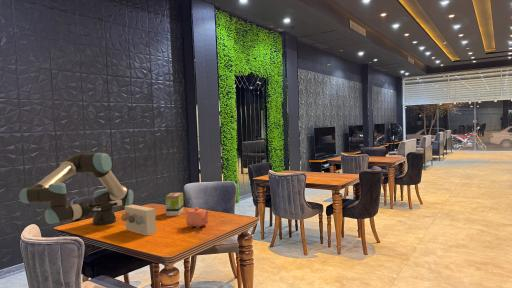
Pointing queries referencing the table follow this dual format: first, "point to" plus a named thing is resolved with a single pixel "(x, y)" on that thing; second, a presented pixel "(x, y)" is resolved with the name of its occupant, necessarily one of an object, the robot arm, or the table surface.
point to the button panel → (147, 219)
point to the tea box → (174, 204)
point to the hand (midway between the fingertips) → (121, 202)
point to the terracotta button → (124, 217)
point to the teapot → (196, 217)
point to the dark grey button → (138, 220)
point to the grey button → (131, 219)
